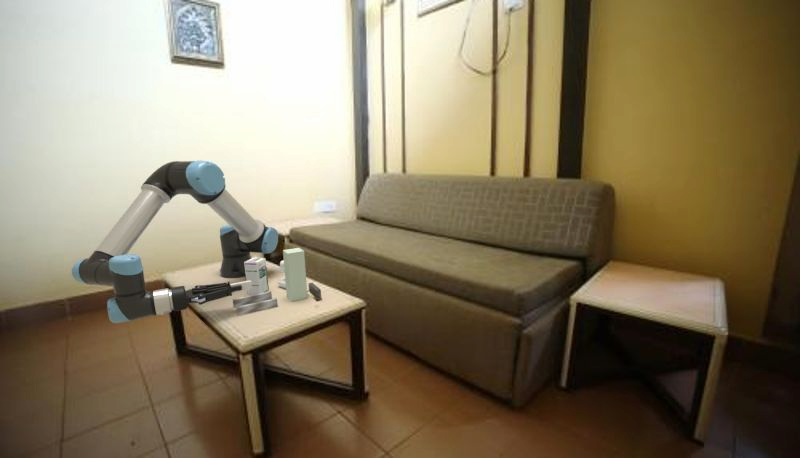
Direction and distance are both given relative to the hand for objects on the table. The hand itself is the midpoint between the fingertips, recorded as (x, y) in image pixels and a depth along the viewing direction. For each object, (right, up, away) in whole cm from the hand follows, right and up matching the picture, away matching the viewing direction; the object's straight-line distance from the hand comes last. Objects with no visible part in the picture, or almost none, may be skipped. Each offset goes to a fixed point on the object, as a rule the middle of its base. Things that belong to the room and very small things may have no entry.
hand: (251, 284), depth 126 cm
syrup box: (-4, -7, +16) cm, 18 cm away
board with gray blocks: (+7, -8, +6) cm, 13 cm away
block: (+13, -6, +10) cm, 17 cm away
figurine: (+7, -5, +22) cm, 23 cm away
